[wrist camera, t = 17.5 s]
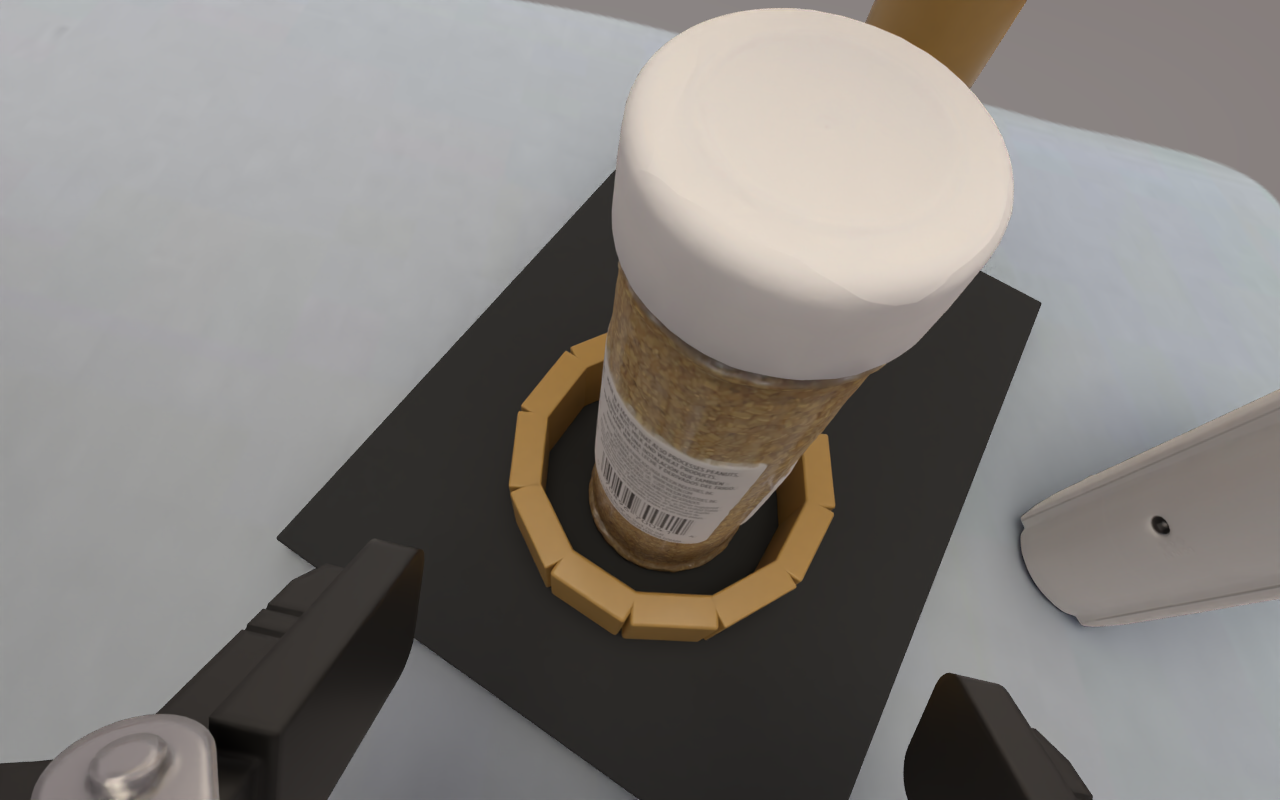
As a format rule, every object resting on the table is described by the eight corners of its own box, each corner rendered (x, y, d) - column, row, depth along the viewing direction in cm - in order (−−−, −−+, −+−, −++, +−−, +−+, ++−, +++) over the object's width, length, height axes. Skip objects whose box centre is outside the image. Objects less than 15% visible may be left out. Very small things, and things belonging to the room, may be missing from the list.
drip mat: (285, 545, 18) (274, 538, 18) (668, 124, 27) (670, 108, 27) (792, 908, 16) (804, 917, 15) (1028, 314, 25) (1042, 302, 24)
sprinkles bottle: (770, 518, 19) (1116, 181, 7) (644, 609, 18) (815, 373, 6) (678, 399, 21) (840, -49, 9) (554, 474, 19) (540, 57, 7)
